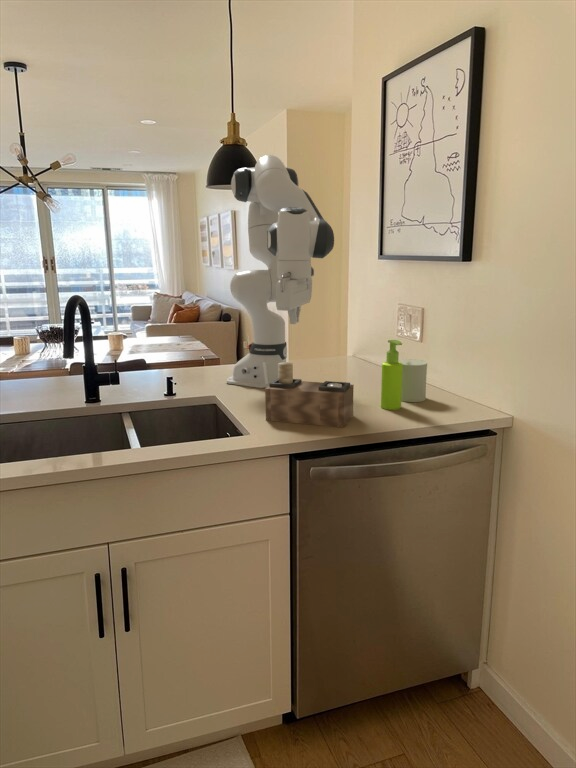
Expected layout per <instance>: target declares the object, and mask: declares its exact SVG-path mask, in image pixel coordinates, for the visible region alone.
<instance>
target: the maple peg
mask: <svg viewBox="0 0 576 768" xmlns="http://www.w3.org/2000/svg"><path fill="white" fill-rule="evenodd" d="M293 365H294V363H292V362H289V361H288V362H287V361H286V362H283V363H278V380H279V383H284V384H292V383H293V379H294V375H293V374H294V372H293V371H294V369H293V368H294V366H293Z"/></svg>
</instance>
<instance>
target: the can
mask: <svg viewBox="0 0 576 768" xmlns="http://www.w3.org/2000/svg"><path fill="white" fill-rule="evenodd" d="M398 362H399V363H402V364H403V368H402V395H401V402H405V403H420V402H421V403H422V402H424V401H426V399H427V397H426V395H427V394H426V393H427V391H426V390H427V373H428V371H427V369H428V362H427V361H426V360H422V359H421V360H420V359H413V358H412V359H400V360H398Z"/></svg>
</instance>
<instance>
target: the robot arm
mask: <svg viewBox="0 0 576 768" xmlns="http://www.w3.org/2000/svg"><path fill="white" fill-rule="evenodd" d="M298 178H299V177H298V174H297V172H296V171H295V170H294V169H292V168H289V167H286V166H285V164H284V162H283V161H282V160H281V159H280V158H279V157H278V156H275V155H273V154H272V155H271V154H268V155H263V156H261V157H260V158H259V159H258V160H257V162H256V163H255V166H254V167H241V168H238V169H236V170H235V171H234V172H233V174H232V177H231V181H230V186H231V187H230V188H231V191H232V193H233V196H234V198H235V199H236V201H238V202H243V203H247V202H250V203H249V206H248V212H247V213H248V214H247V233H248V245H249V246H248V248H249V249H248V250H249V252H250V254H251V256H252V257H254V258H255V260H258V261H260V262H262V263H263V264H265V266H266V267H267V269H247V270H243V271H239V272H236V273H235V274H233V276H232V278H231V280H230V285H229V289H230V292H231V295H232V297H233V298H234V299H235V300H236V301H237V302H238V303H239V304H240V305H242V306H243V307H244V309H246V311H247V312H248V314H249V317H250V320H251V325H252V334H253V336H252V337H253V341H252V342H251V343H249V344H248V345H247V346H246V347H247V348H246V349H247V350H248V353H247V354H245V356H244V357H242V358H241V359H239V360H238V361H237V362H236V363H235V364H234V367H233V372H232V375H230V376H229V377H227V379H226V383H227V384H230V385H238V386H245V387H251V388H258V389H259V388H260V389H263V388H267V387H268V386H269V383H271V382H272V381H274V380H276V379H277V378H278V363H283V362H287V357H288V347H287V342H286V322H285V319H284V318H283V316H281V315H279V314H278V313H276V312H274V311H271V310H270V309H269V308H268V304H269V303H275V307H276V310H277V311H284V312H286V311H287V314H288V316H289V317H288V318H289V324H290V325H296V324H298V323H299V322H300V315H301V310H302V309H301V307H302V306H304V305H307V304H308V303H310V302H311V299H312V294H313V293H312V292H313V277H314V276H315V269H314V267H313V266H312V259H324V258H325V257H326V256H328V255H329V254H330V253H331V252H332V251H333V249H334V245H335V233H334V230H333V228H332V227H331V225H330V224H329V223H328V222H327V220H326V219H324V218H323V215H322V214H321V212H320V211H319V209H318V208H317V206H316V204H315V201H313V199H312V198H311V195H310V194H308V192H307V191H305V190H304V189H302V188H301V187H299V186H300V183H299V179H298Z"/></svg>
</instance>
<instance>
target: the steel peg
mask: <svg viewBox="0 0 576 768" xmlns="http://www.w3.org/2000/svg"><path fill="white" fill-rule="evenodd" d="M327 387H342V384H339V383H330V384H327Z"/></svg>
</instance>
